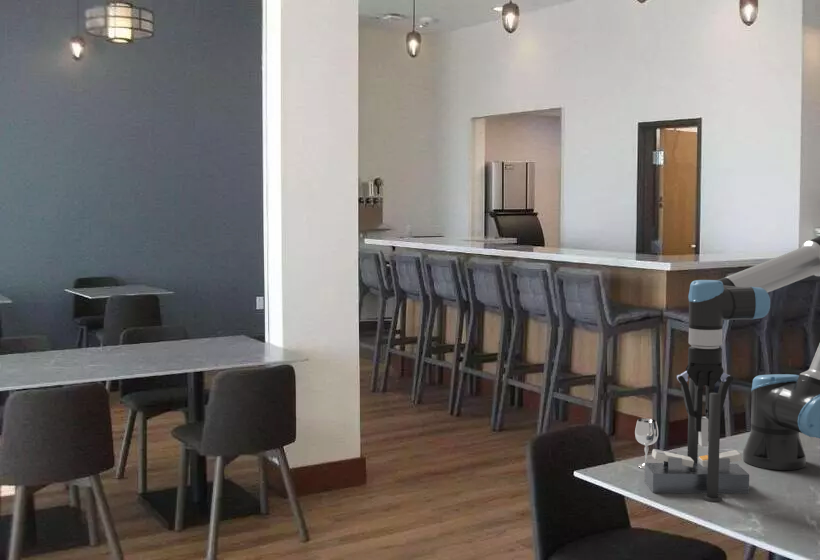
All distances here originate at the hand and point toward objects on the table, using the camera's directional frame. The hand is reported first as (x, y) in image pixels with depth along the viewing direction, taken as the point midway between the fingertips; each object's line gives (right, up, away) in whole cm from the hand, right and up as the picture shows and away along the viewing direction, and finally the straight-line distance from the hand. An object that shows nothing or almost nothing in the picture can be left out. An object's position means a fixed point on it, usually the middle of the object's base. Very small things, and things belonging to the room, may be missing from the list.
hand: (703, 444), depth 214 cm
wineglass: (-9, -9, +18) cm, 22 cm away
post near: (0, -11, -8) cm, 13 cm away
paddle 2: (+4, -3, 0) cm, 5 cm away
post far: (0, -10, +10) cm, 13 cm away
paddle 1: (-7, -3, +1) cm, 8 cm away
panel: (-2, -10, +1) cm, 10 cm away
